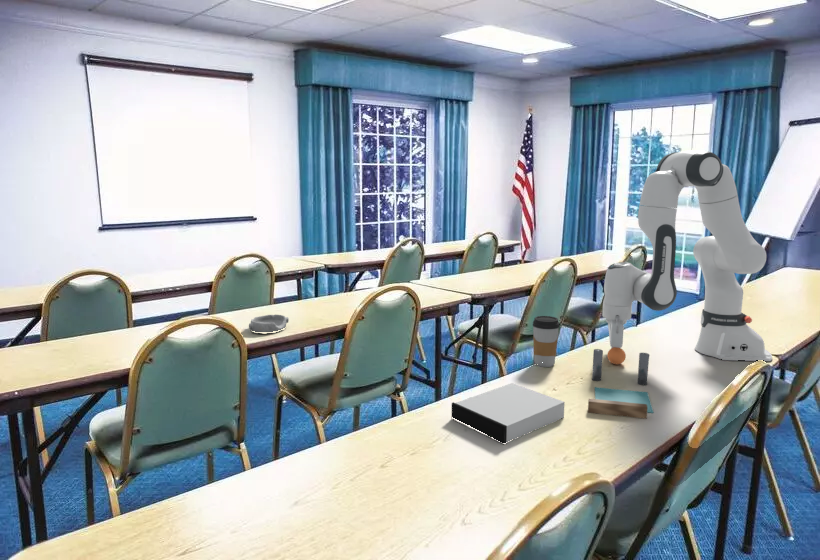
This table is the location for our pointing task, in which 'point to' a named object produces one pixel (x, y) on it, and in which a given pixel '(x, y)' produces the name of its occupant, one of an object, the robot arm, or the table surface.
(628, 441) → the table surface
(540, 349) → the coffee cup
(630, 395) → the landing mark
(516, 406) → the disc drive
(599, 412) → the stopper wall
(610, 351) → the ball
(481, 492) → the table surface
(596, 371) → the post
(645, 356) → the post
